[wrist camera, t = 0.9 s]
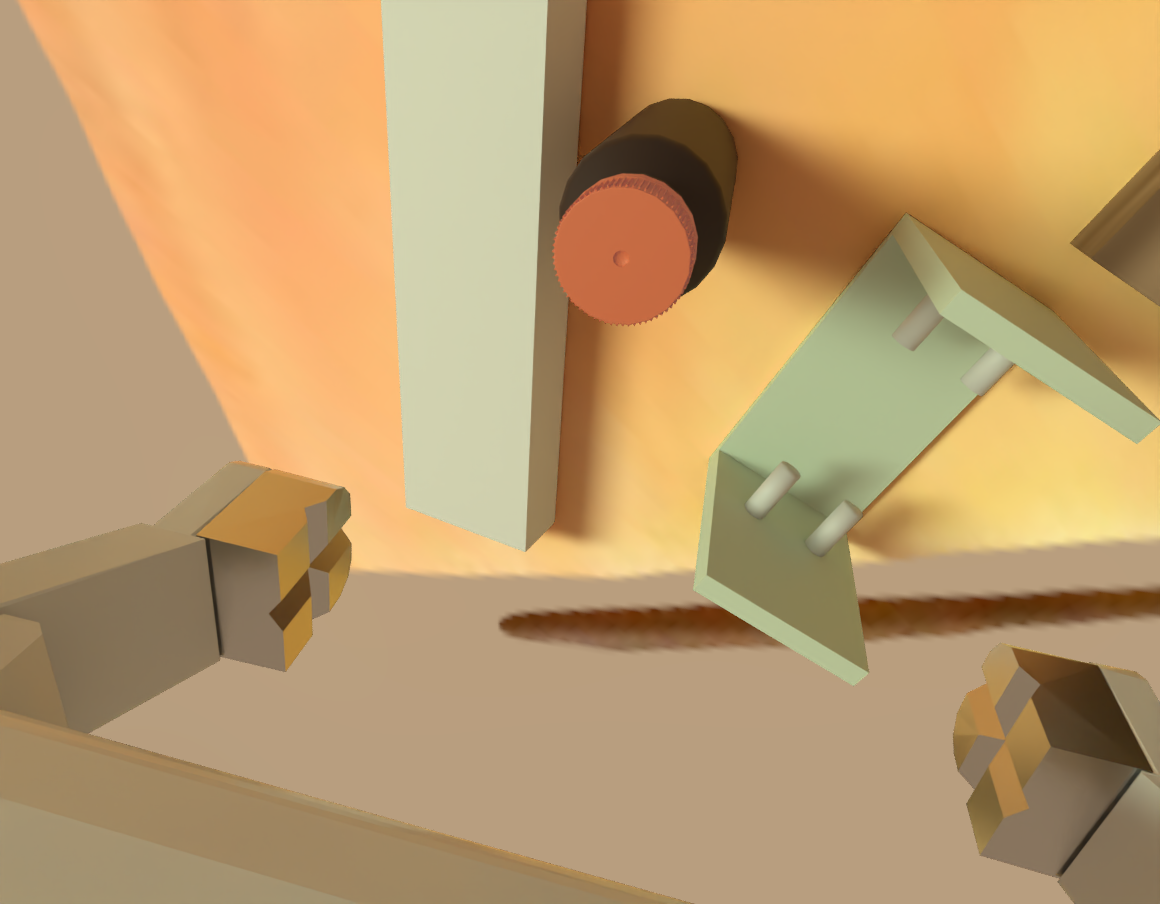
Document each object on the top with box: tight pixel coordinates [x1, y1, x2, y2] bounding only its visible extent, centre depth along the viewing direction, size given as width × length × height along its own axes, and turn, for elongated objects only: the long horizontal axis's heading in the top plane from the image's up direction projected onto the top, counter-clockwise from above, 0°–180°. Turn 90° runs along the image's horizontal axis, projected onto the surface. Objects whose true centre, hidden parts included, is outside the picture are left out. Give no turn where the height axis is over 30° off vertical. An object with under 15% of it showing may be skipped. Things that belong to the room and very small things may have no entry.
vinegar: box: [552, 99, 738, 326], centre depth 36 cm, size 7×7×20 cm
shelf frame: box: [693, 213, 1160, 686], centre depth 42 cm, size 19×10×14 cm, turn 151°
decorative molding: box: [381, 0, 587, 552], centre depth 49 cm, size 34×5×10 cm
